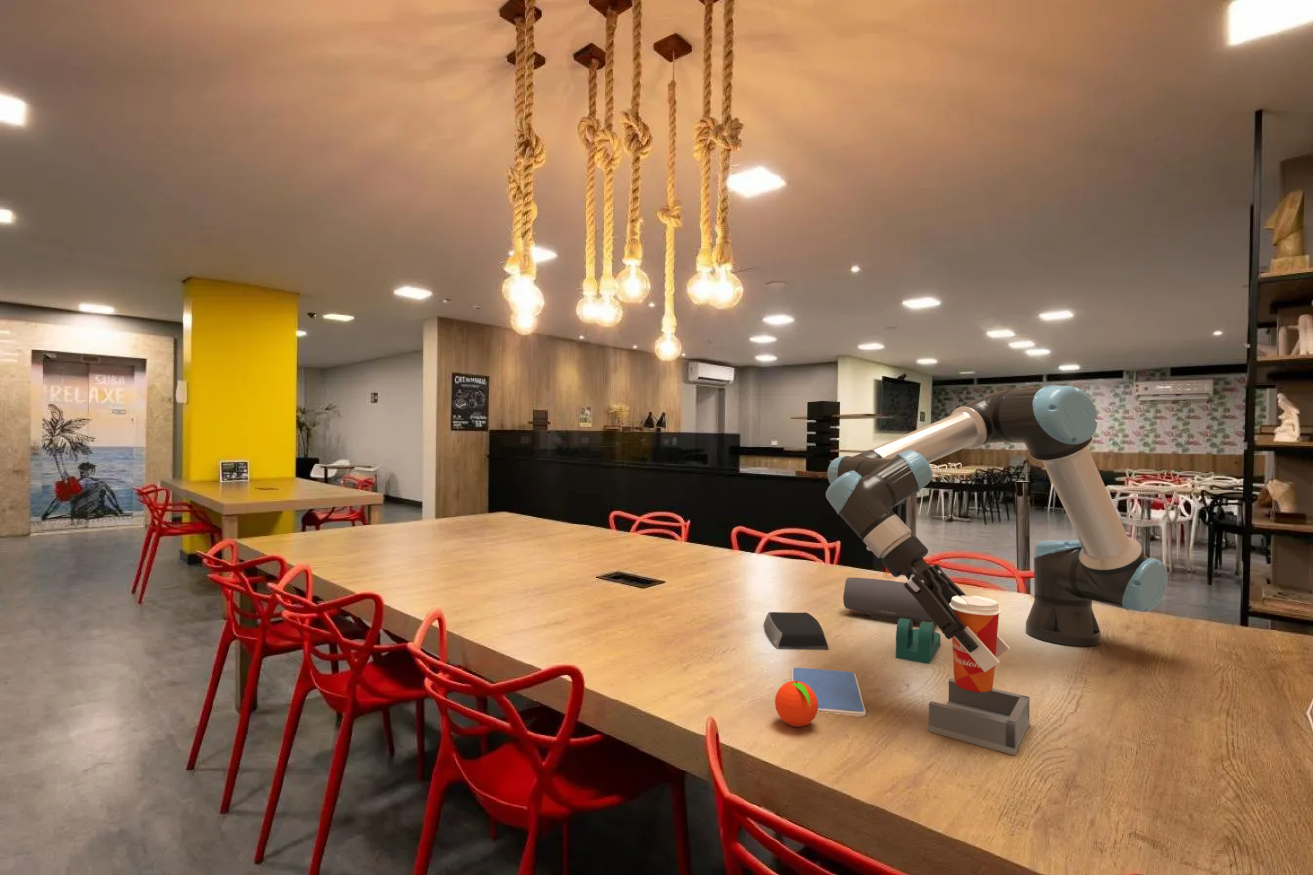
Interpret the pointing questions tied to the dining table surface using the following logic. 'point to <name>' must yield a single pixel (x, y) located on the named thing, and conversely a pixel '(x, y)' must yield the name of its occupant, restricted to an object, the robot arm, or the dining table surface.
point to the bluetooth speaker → (883, 600)
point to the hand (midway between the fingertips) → (997, 659)
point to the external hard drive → (794, 631)
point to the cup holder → (982, 718)
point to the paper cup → (984, 624)
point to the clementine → (796, 703)
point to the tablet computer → (833, 690)
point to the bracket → (916, 641)
